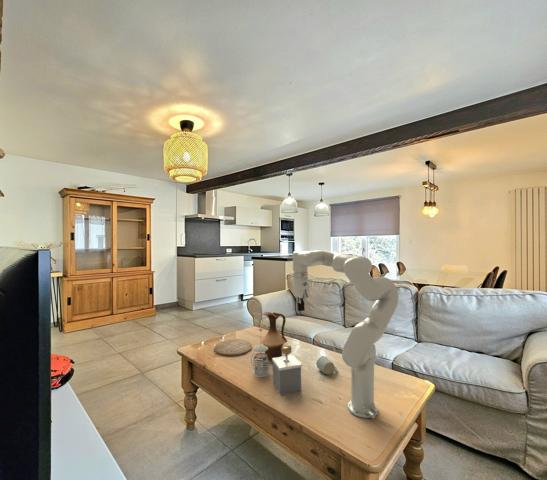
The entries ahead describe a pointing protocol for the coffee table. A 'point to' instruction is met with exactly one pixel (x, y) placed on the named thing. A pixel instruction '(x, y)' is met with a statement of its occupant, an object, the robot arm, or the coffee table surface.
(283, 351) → the plunger
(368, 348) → the robot arm
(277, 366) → the socket block
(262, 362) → the french press
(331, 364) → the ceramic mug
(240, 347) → the trivet
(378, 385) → the coffee table surface
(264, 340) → the pitcher
